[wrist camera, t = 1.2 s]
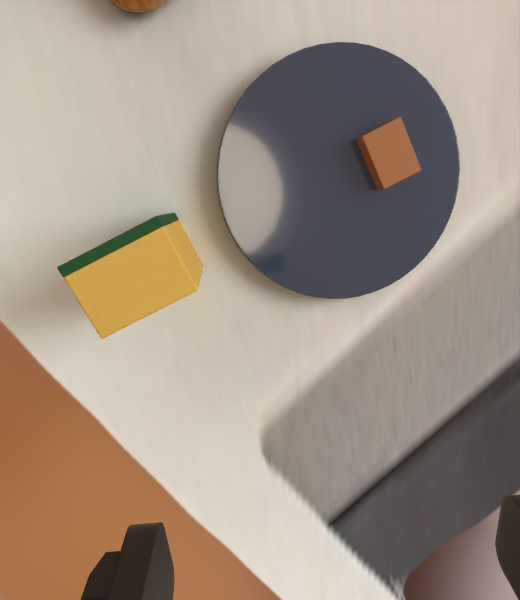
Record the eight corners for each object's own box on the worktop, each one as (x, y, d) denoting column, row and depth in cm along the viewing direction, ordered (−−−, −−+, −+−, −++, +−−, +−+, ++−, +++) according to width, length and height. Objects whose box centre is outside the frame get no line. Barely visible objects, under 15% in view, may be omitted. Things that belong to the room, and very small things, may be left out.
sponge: (103, 249, 33) (56, 267, 24) (174, 212, 33) (157, 215, 23) (134, 301, 34) (101, 339, 25) (203, 265, 34) (198, 290, 24)
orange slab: (355, 139, 32) (361, 135, 30) (392, 119, 32) (401, 115, 30) (376, 190, 33) (384, 189, 31) (413, 171, 33) (422, 170, 31)
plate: (172, 120, 32) (170, 116, 30) (397, 3, 32) (406, -7, 30) (282, 333, 36) (284, 338, 34) (481, 231, 36) (492, 232, 34)
